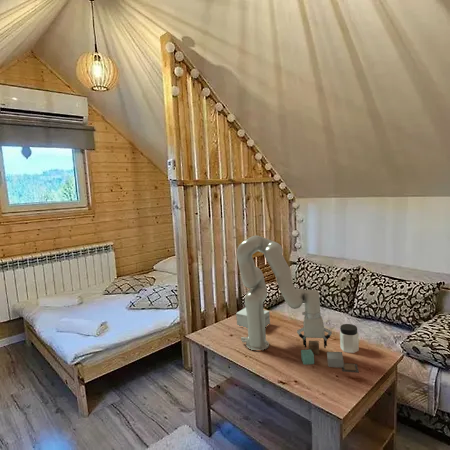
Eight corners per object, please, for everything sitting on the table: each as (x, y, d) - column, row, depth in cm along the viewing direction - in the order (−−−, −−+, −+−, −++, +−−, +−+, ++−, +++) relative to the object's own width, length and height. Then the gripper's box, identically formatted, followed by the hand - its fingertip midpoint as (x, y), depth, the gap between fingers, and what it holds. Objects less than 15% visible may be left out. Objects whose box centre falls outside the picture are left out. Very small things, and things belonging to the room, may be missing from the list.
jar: (338, 345, 174) (337, 324, 172) (353, 344, 174) (352, 322, 173) (345, 354, 165) (344, 331, 163) (361, 352, 165) (360, 330, 164)
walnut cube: (309, 354, 167) (308, 345, 167) (309, 349, 172) (308, 340, 172) (319, 355, 166) (318, 345, 165) (319, 350, 171) (318, 341, 170)
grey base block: (328, 367, 154) (327, 359, 154) (327, 359, 161) (326, 351, 161) (344, 367, 152) (343, 359, 152) (342, 359, 159) (342, 351, 159)
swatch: (342, 371, 150) (342, 370, 150) (341, 363, 157) (341, 362, 156) (358, 372, 148) (358, 371, 148) (356, 364, 155) (356, 363, 155)
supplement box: (236, 327, 207) (235, 312, 206) (248, 319, 217) (247, 306, 216) (259, 332, 196) (258, 317, 195) (270, 324, 207) (269, 310, 206)
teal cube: (303, 365, 158) (303, 355, 157) (301, 359, 163) (301, 350, 162) (314, 364, 158) (313, 354, 157) (311, 359, 163) (311, 349, 162)
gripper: (295, 317, 166) (297, 349, 167) (331, 317, 161) (333, 350, 163) (296, 311, 173) (298, 342, 174) (330, 311, 168) (332, 343, 170)
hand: (315, 346), depth 168 cm, fingers open, 9 cm apart
